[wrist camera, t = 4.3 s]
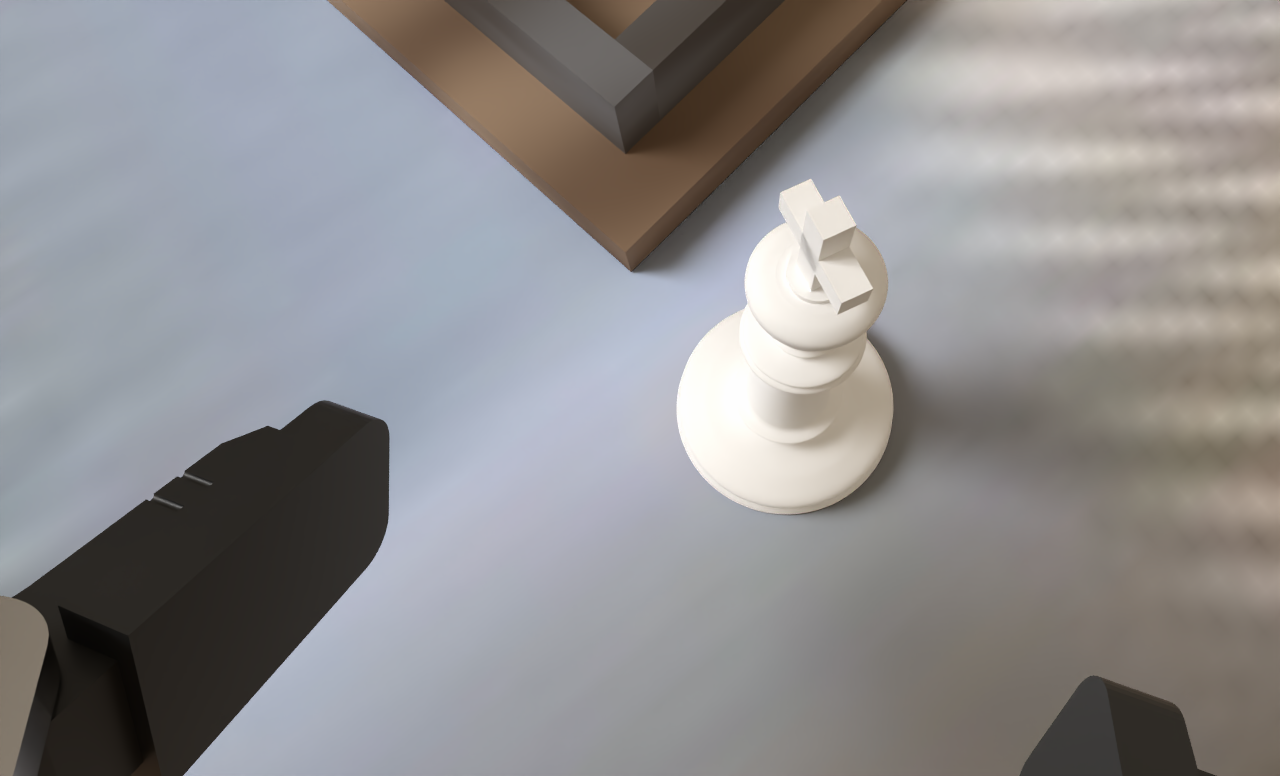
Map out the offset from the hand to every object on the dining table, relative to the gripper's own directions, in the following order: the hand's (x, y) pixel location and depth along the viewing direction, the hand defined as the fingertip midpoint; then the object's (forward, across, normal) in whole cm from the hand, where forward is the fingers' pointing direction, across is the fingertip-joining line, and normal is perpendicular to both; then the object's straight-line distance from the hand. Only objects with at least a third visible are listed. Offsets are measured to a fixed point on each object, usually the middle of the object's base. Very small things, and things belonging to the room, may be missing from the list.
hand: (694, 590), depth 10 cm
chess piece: (+10, 0, +4) cm, 11 cm away
